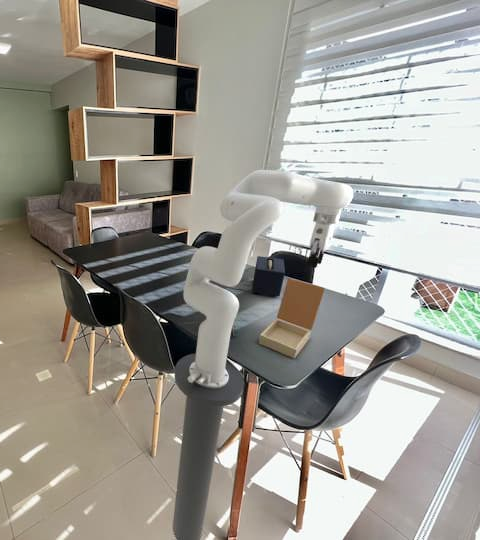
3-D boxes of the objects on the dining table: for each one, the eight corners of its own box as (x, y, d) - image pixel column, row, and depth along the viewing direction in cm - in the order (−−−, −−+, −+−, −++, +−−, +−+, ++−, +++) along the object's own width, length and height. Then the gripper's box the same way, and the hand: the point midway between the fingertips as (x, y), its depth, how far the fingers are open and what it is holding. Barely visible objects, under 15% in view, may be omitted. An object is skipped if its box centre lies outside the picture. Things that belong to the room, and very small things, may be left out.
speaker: (253, 279, 166) (257, 254, 161) (278, 283, 161) (283, 257, 155) (251, 294, 148) (256, 267, 143) (279, 299, 143) (285, 271, 137)
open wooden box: (294, 358, 102) (296, 349, 100) (258, 343, 110) (259, 334, 109) (308, 339, 112) (311, 331, 111) (274, 326, 121) (276, 318, 119)
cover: (324, 287, 106) (325, 287, 106) (288, 278, 114) (288, 277, 115) (311, 330, 110) (311, 330, 111) (276, 318, 119) (277, 317, 119)
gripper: (332, 223, 97) (318, 273, 103) (344, 216, 107) (331, 261, 114) (307, 220, 102) (295, 267, 109) (320, 213, 113) (309, 257, 119)
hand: (313, 264), depth 111 cm, fingers open, 5 cm apart
